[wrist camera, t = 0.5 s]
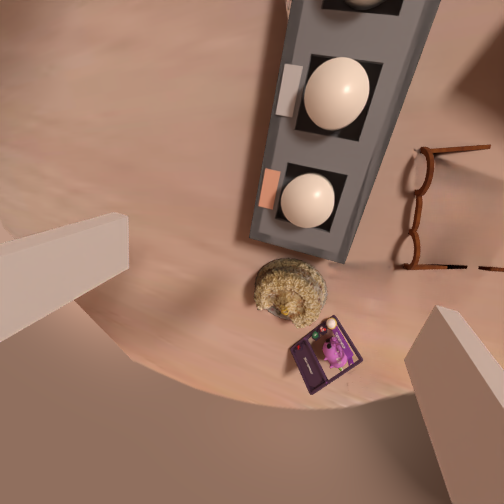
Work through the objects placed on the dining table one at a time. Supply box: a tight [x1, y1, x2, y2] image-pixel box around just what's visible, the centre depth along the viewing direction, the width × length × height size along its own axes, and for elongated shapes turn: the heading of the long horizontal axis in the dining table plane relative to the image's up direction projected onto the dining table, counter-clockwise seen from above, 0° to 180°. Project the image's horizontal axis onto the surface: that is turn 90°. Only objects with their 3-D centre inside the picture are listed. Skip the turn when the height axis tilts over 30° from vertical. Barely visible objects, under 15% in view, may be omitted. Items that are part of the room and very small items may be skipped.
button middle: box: [304, 57, 369, 131], centre depth 22 cm, size 5×5×3 cm
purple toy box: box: [290, 315, 363, 395], centre depth 36 cm, size 7×5×9 cm
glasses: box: [403, 145, 504, 272], centre depth 26 cm, size 13×13×5 cm
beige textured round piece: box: [254, 258, 328, 329], centre depth 34 cm, size 10×10×5 cm
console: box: [249, 0, 441, 264], centre depth 25 cm, size 30×11×4 cm, turn 170°
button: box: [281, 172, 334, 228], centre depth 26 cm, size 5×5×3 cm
